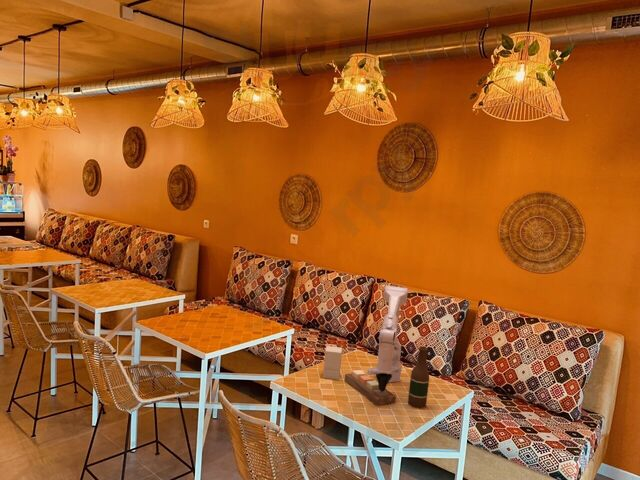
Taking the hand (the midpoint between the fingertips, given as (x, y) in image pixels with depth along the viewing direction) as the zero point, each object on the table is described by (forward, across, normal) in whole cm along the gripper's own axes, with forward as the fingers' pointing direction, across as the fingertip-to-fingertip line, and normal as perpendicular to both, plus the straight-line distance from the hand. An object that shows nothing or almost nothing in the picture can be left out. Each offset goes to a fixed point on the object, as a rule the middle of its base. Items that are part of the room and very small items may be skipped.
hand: (381, 390), depth 197 cm
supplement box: (+5, -8, +28) cm, 29 cm away
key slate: (+3, 0, 0) cm, 3 cm away
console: (+4, 0, +9) cm, 10 cm away
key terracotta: (+2, 0, +12) cm, 12 cm away
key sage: (+2, 0, +6) cm, 6 cm away
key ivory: (+2, 0, +18) cm, 18 cm away
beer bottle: (+4, +13, -7) cm, 15 cm away
